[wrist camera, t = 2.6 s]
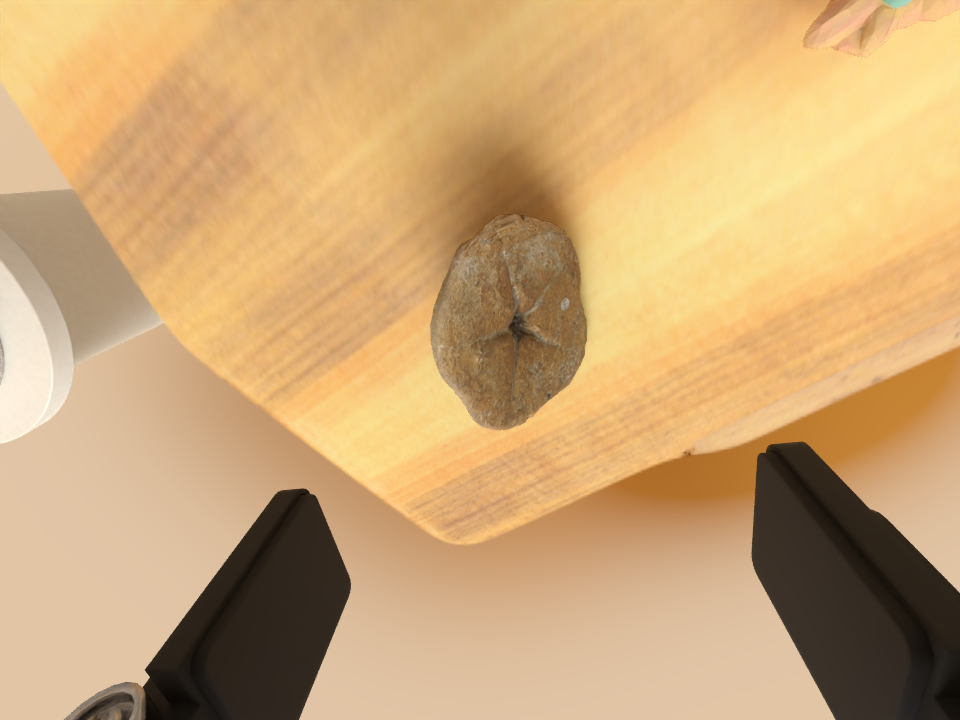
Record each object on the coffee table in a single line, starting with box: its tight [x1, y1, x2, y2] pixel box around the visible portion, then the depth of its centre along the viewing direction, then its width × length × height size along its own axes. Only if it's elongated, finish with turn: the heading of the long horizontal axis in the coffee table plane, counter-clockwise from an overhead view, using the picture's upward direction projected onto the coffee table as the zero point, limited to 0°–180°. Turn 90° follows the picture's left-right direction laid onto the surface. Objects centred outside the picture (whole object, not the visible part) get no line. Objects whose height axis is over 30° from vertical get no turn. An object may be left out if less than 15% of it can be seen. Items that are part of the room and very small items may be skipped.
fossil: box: [430, 214, 587, 431], centre depth 22 cm, size 9×4×10 cm
